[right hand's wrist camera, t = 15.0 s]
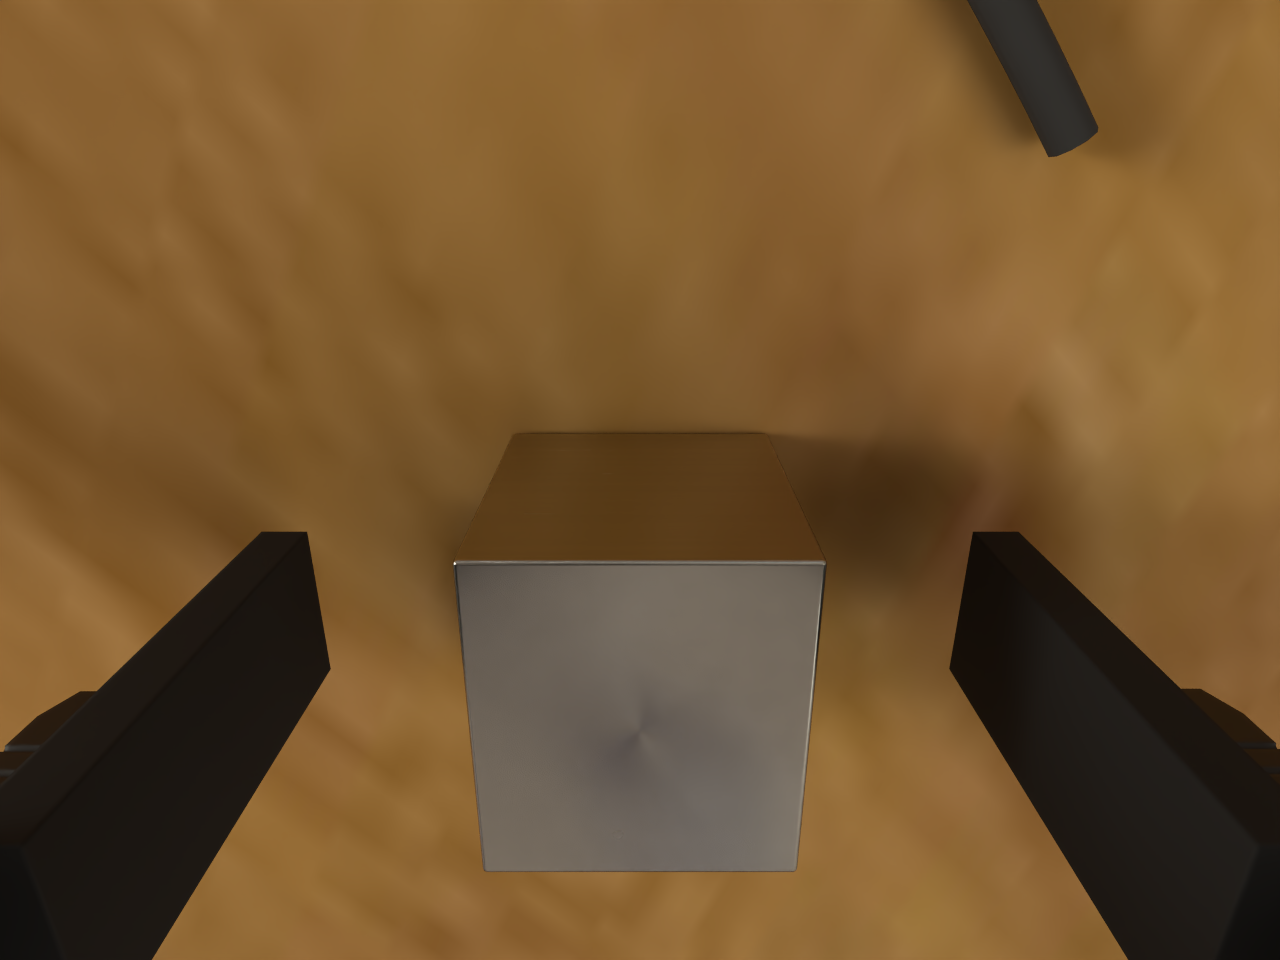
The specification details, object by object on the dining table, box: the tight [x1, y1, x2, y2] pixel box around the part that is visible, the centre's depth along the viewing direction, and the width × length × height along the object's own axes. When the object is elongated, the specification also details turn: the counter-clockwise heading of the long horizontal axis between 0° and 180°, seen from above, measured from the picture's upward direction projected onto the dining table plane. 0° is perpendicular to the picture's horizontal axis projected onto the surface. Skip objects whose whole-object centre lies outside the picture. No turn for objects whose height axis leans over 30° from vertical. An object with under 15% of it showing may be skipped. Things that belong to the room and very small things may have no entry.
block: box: [453, 434, 827, 872], centre depth 13 cm, size 4×5×5 cm
